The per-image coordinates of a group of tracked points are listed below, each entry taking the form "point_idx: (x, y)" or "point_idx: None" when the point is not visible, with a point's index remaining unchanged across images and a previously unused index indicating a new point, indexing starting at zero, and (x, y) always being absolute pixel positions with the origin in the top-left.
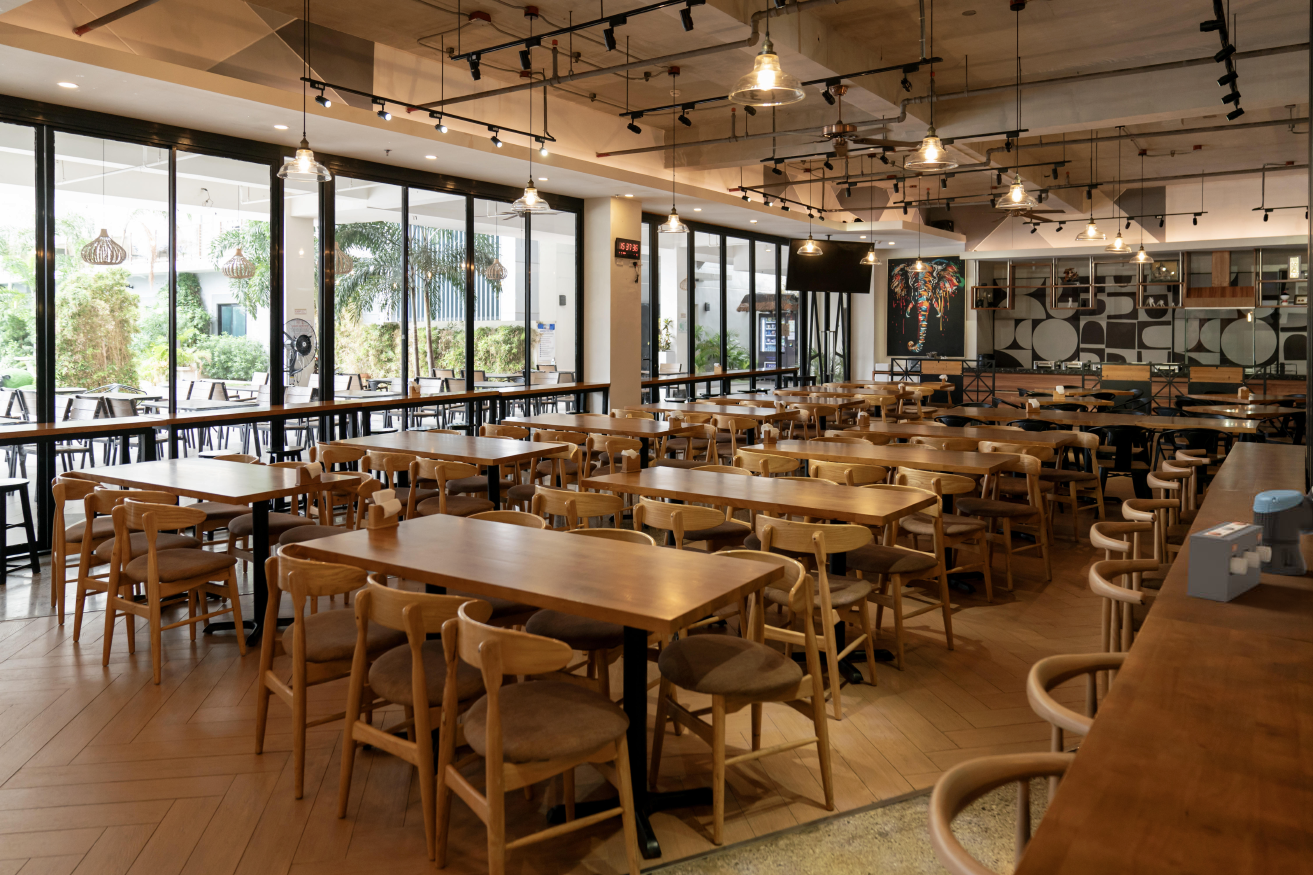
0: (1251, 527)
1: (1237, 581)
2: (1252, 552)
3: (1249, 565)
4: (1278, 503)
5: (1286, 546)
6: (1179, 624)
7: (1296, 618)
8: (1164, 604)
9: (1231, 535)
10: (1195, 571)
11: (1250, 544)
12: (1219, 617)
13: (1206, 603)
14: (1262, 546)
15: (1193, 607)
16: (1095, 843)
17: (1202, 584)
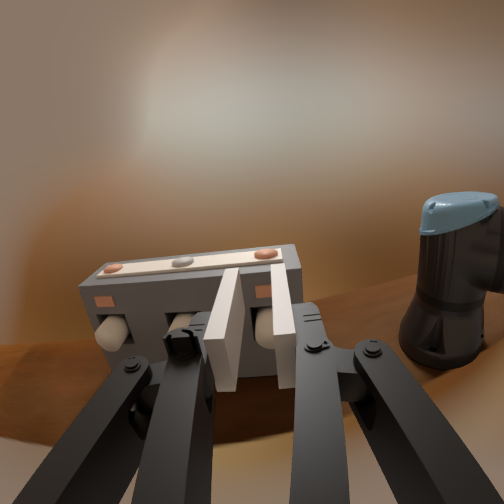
0: (258, 267)
1: (154, 358)
2: (178, 322)
3: None
4: (433, 217)
5: (438, 312)
6: (13, 355)
7: (55, 441)
8: (82, 339)
9: (128, 278)
10: None
11: (210, 304)
12: (39, 376)
13: (101, 362)
14: (270, 314)
15: (77, 356)
16: None
17: None
